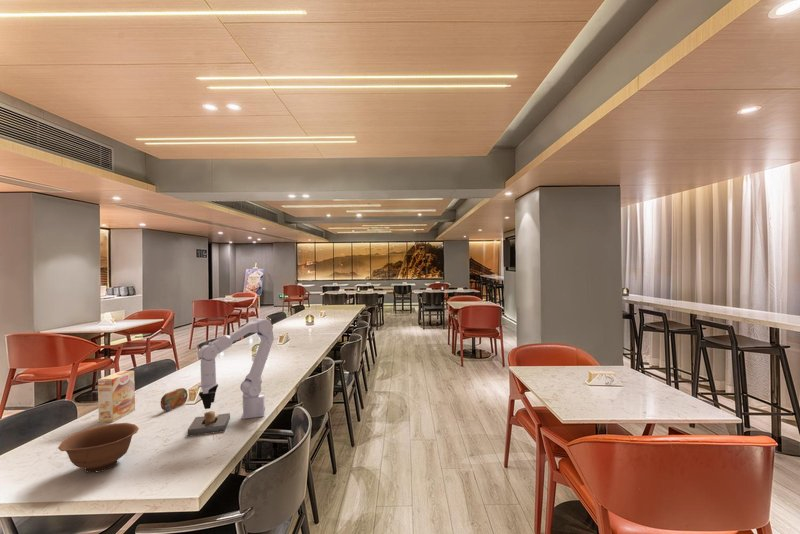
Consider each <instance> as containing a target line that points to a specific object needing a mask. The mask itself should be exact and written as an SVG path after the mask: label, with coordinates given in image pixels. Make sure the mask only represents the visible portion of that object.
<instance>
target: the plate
mask: <svg viewBox="0 0 800 534" xmlns="http://www.w3.org/2000/svg"><path fill="white" fill-rule="evenodd" d="M230 420H231V413H228V412H227V413H220V414H215V423H209V424H205V418H204V416H195V417H194V419H193V421H192V422H191V424H190V426H189V427H188V428H187V437H191V436H190V435H192V436H198V434H199V435H206V434H205V433H207V434H213V432H214V433H221V432H220V431H222V432H225V431H226V430H227V428H228V424H229V422H230Z"/></svg>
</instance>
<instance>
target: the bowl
mask: <svg viewBox="0 0 800 534" xmlns="http://www.w3.org/2000/svg"><path fill="white" fill-rule="evenodd" d="M139 430H140V429H139V427H138V426H137V425H136V424H135V423H129V422H119V423H118V422H117V423H110V424H104V425H99V426H95V427H91V428H88V429H87V428H86V429H84V430H81V431H79V432H76V433H74V434H71V435H70V436H68V437H66V438H65V439H63V440H62V441H61V443H60V445H59V446H58V447H57V449H58V450H59V451H60V452H66V454H67V457H68V458H69V461H70V462H71V463H72V464H73V465H74V466H75V467H77V468H82V469H84V471H85V470H86V471H88V472H87V473H89V472H94V473H97V472H96V471H100V472H102V470H103V471H106V470H109V469H111V468H112V467H113V468H114V466H116V464H118V461H119V460H120V459H121V458H123V456H125V455H126V454H127V452H128V451H129V447H130V446H131V441H132V438H133V435H136V434H137V433H138V431H139ZM85 468H86V469H85ZM86 471H85V472H86Z"/></svg>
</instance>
